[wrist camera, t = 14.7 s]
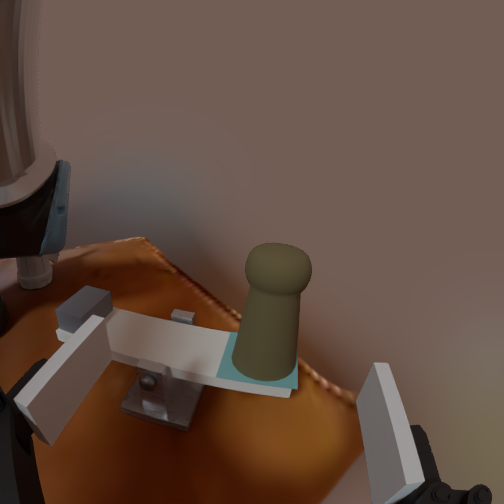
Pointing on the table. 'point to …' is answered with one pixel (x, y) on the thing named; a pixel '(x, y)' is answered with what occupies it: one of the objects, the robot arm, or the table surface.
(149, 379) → the stand
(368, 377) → the robot arm
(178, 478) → the table surface
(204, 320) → the table surface
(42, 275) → the mug
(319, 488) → the table surface
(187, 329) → the beam
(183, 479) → the table surface
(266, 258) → the cork
